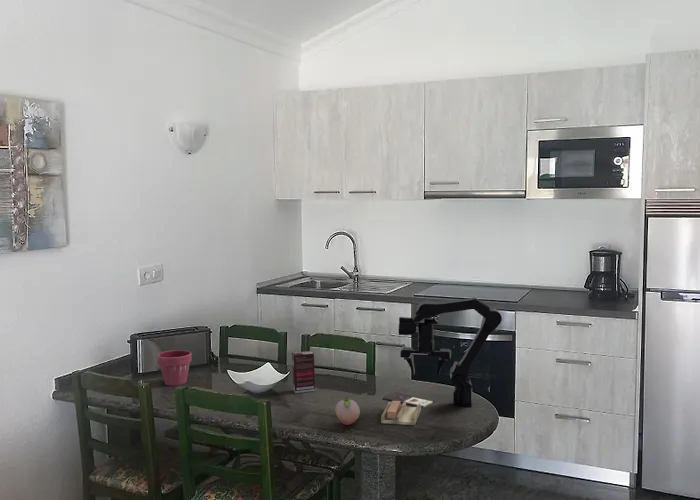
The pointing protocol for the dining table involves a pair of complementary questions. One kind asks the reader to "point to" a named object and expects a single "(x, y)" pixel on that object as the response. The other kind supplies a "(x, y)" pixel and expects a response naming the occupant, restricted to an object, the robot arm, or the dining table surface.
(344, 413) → the decorative fruit
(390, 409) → the clay strip
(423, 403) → the chocolate bar
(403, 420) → the cream desk organizer
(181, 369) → the plant pot
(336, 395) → the dining table surface
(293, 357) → the supplement box
